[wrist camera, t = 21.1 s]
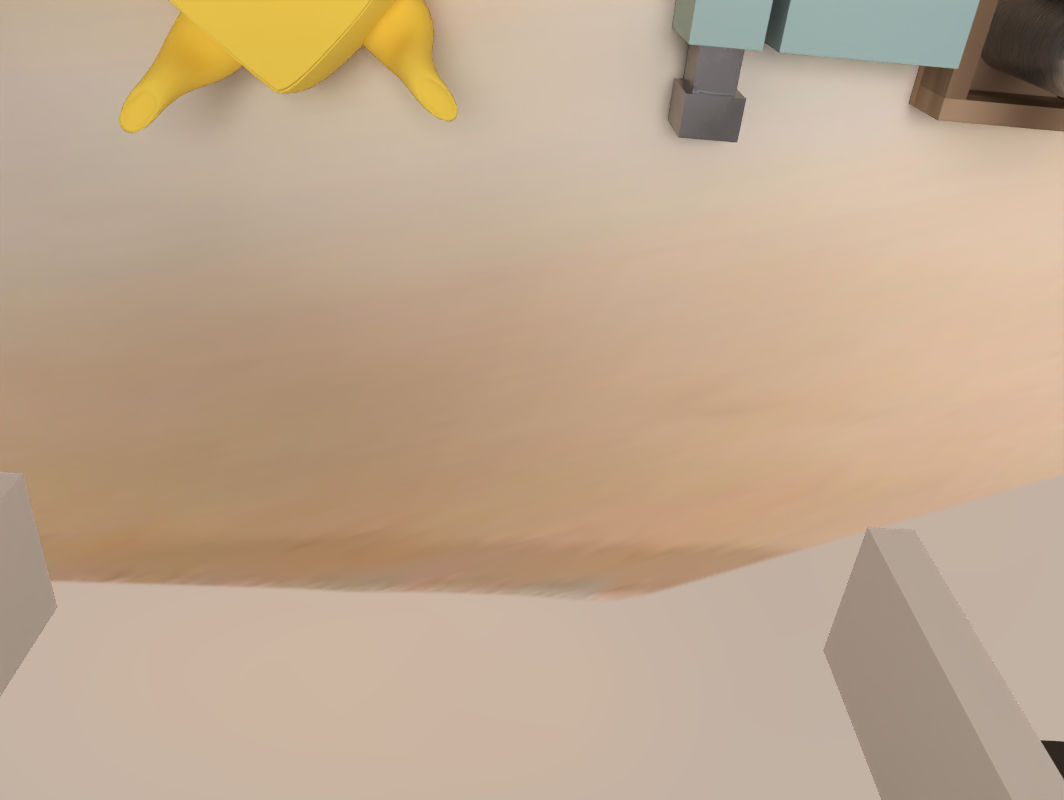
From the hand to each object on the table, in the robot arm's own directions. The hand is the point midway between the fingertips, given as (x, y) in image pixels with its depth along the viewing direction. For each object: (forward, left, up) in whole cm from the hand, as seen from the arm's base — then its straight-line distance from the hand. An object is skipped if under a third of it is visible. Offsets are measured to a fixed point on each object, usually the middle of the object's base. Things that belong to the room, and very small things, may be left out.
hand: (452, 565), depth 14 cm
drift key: (+10, +5, -34) cm, 36 cm away
